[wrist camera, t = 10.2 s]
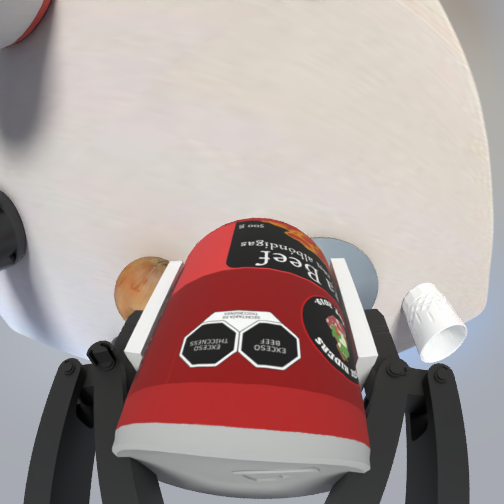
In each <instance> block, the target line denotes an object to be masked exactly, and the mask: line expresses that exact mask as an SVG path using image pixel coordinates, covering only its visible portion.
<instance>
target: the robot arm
mask: <svg viewBox="0 0 504 504" xmlns="http://www.w3.org/2000/svg"><path fill="white" fill-rule="evenodd" d="M25 248H26V240H25V233H24V229H23V225H22V222H21V219H20V217H19V215H18V212H17V210H16V209H15V207H14V205H13V203H12V202H11V201H10V199H9V198H8V197H7V196H6V195H5V194H4V193H3V192H2V191H0V271H1V270H3V269H6V268H8V267H11V266H13V265H15V264H16V263H17V262H18V261H19V260H20V259H21V258H22V257H23V255H24V253H25ZM183 266H184V264H183V261H170V262H169V264H168V266H167V268H166V269H165V271H164V273H163V275H162V277H161V279H160V280H159V282H158V284H157V286H156V288H155V290H154V292H153V294H152V296H151V297H150V299H149V301H148V303H147V305H146V307H145V309H144V311H143V310H135V311H134V312H133V313H132V314H131V315H130V316H129V317H128V319H127V320H126V322H125V326H123V328H122V330H121V332H120V334H119V336H118V338H117V339H116V341H115V343H114V345H112V344H111V343H110V342H108V341H99V342H96V343H94V344H93V345H92V346H91V347H90V348H89V349H88V351H87V354H86V355H87V356H88V358H89V359H90V361H91V362H92V364H86V365H82V364H81V363H80V362H79V361H78V360H77V359H75V358H69V359H67V360H65V361H63V362H62V363H61V365H60V366H59V368H58V371H57V373H56V376H55V379H54V381H53V384H52V387H51V390H50V393H49V395H48V398H47V401H46V405H45V408H44V411H43V414H42V417H41V421H40V425H39V428H38V432H37V435H36V439H35V443H34V447H33V452H32V456H31V461H30V466H29V471H28V477H27V482H26V489H25V496H24V504H89V499H90V489H91V478H92V470H93V464H94V456H95V450H96V461H97V470H98V478H99V485H100V492H101V498H102V503H103V504H164V502H163V498H162V495H161V491H160V487H159V483H158V479H157V475H156V474H155V473H154V472H152V471H151V470H150V469H149V468H147V467H146V466H145V465H143V464H142V463H140V462H138V461H137V460H135V459H133V458H131V457H117V456H116V455H115V454H114V453H113V452H112V447H113V444H114V441H115V431H116V428H117V425H118V422H119V419H120V416H121V413H122V411H123V408H124V404H125V400H126V398H127V395H128V392H129V390H130V387H131V385H132V382H133V380H134V377H135V375H136V372H137V370H138V367H139V365H140V362H141V360H142V357H143V355H144V353H145V350H146V348H147V346H148V343H149V341H150V338H151V336H152V334H153V331H154V329H155V327H156V325H157V322H158V320H159V318H160V316H161V313H162V311H163V309H164V307H165V304H166V302H167V300H168V298H169V296H170V294H171V291H172V289H173V287H174V285H175V283H176V281H177V279H178V276H179V274H180V272H181V270H182V268H183ZM330 272H331V275H332V278H333V282H334V285H335V289H336V292H337V296H338V299H339V303H340V306H341V310H342V314H343V317H344V321H345V325H346V329H347V333H348V337H349V341H350V345H351V349H352V353H353V357H354V362H355V366H356V370H357V375H358V379H359V384H360V389H361V392H362V390H363V388H365V393H366V396H365V398H364V400H363V404H364V409H365V414H366V423H367V430H368V436H369V443H370V458H369V460H370V470H368V471H367V472H365V473H359V472H351V471H349V472H347V473H346V474H345V475H343V476H342V477H341V478H340V479H339V480H338V481H337V482H336V483H335V484H334V485H333V486H332V488H331V491H330V493H329V495H328V497H327V499H326V501H325V504H379V503H380V500H381V498H382V495H383V492H384V489H385V487H386V483H387V480H388V477H389V474H390V471H391V467H392V464H393V460H394V457H395V453H396V448H397V445H398V441H399V436H400V432H401V427H402V422H403V417H404V413H405V416H406V435H407V482H406V500H405V501H406V502H405V504H469V465H468V453H467V444H466V436H465V428H464V421H463V415H462V410H461V404H460V399H459V394H458V390H457V385H456V381H455V377H454V374H453V371H452V370H451V369H450V368H449V367H448V366H446V365H444V364H440V363H438V364H434V365H432V366H431V367H430V368H429V370H420V369H414V368H410V367H409V366H408V365H407V363H406V362H404V361H403V360H401V359H400V358H399V356H398V353H397V350H396V347H395V345H394V342H393V339H392V337H391V334H390V333H389V329H388V326H387V324H386V321H385V318H384V316H383V315H382V314H381V313H380V312H379V311H378V310H377V309H368V310H363V307H362V304H361V302H360V299H359V296H358V293H357V291H356V288H355V285H354V282H353V280H352V277H351V274H350V272H349V269H348V267H347V264H346V262H345V259H344V258H331V259H330Z"/></svg>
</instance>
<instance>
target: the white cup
mask: <svg viewBox="0 0 504 504" xmlns="http://www.w3.org/2000/svg"><path fill="white" fill-rule="evenodd" d="M402 307H403V311H404V314H405V316H406V319H407V323H408V325H409V328H410V331H411V334H412V337H413V339H414V342H415V345H416V347H417V350H418V353H419V356H420V358H421V360H422V361H423V362H426V363H432V362H437V361H440V360H442V359H444V358H446V357H447V356H449V355H451V354H452V353H453V352H454V351H455V350H457V349H458V348H459V346H460V345H461V344H462V342H463V341H464V340H465V337H466V335H467V328H466V326H465V324H464V323H463V321H462V320H461V319H460V317H459V316H458V314H457V313H456V311H455V310H454V308H453V307H452V306H451V304H450V303H449V302H448V300H447V299H446V298H445V297H444V295H442V294H441V292H440V291H439V290H438V288H437V287H436V286H435V285H434V284H432V283H423V284H420V285H417V286H416V287H414V288H413V289H412V290H410V291H409V293H408V294H407V295H406V296H405V298H404V301H403V304H402Z"/></svg>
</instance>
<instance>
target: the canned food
mask: <svg viewBox="0 0 504 504" xmlns="http://www.w3.org/2000/svg"><path fill="white" fill-rule="evenodd" d="M112 452H113V453H114V454H115V455H116V456H117V457H131V458H133V459H135V460H137V461H138V462H140V463H142V464H143V465H145V466H146V467H147V468H149V469H150V470H151V471H152V472H154V473H155V474H156V475H157V479H158V481H161V482H163V483H166V484H170V485H173V486H176V487H180V488H183V489H187V490H192V491H196V492H201V493H206V494H212V495H219V496H226V497H236V498H253V499H272V498H290V497H300V496H307V495H314V494H318V493H323V492H328V491H331V488H332V486H333V485H334V484H335V483H336V482H337V481H338V480H339V479H340V478H341V477H342V476H343V475H345V474H346V473H347V472H349V471H351V472H359V473H365V472H367V471H368V470H370V460H369V458H370V443H369V436H368V430H367V423H366V414H365V409H364V404H363V399H362V394H361V389H360V384H359V379H358V375H357V370H356V366H355V362H354V357H353V353H352V349H351V345H350V341H349V337H348V333H347V329H346V325H345V321H344V317H343V314H342V310H341V306H340V303H339V299H338V296H337V292H336V289H335V285H334V282H333V278H332V275H331V272H330V268H329V265H328V262H327V260H326V258H325V256H324V254H323V252H322V250H321V249H320V248H319V247H318V246H317V245H316V244H315V242H314V241H313V240H312V239H311V238H309V237H308V236H307V235H306V234H304V233H303V232H301V231H300V230H299V229H297V228H296V227H293V226H291V225H289V224H287V223H284V222H281V221H277V220H273V219H267V218H249V219H242V220H237V221H234V222H231V223H228V224H225V225H223V226H221V227H220V228H218V229H216V230H214V231H213V232H211V233H209V234H208V235H207V236H205V237H204V238H203V239H202V240H201V241H200V242H199V243H197V244H196V246H195V247H194V248H193V250H192V251H191V253H190V254H189V256H188V258H187V260H186V262H185V264H184V266H183V268H182V270H181V272H180V274H179V276H178V279H177V281H176V283H175V285H174V287H173V289H172V291H171V294H170V296H169V298H168V300H167V302H166V304H165V307H164V309H163V311H162V313H161V316H160V318H159V320H158V322H157V325H156V327H155V329H154V331H153V334H152V336H151V338H150V341H149V343H148V346H147V348H146V350H145V353H144V355H143V357H142V360H141V362H140V365H139V367H138V370H137V372H136V375H135V377H134V380H133V382H132V385H131V387H130V390H129V392H128V395H127V398H126V400H125V404H124V408H123V411H122V413H121V416H120V419H119V422H118V425H117V428H116V431H115V441H114V444H113V447H112Z"/></svg>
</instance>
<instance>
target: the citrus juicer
mask: <svg viewBox="0 0 504 504" xmlns="http://www.w3.org/2000/svg"><path fill="white" fill-rule="evenodd" d="M50 1H51V0H0V49H2V48H4V47H8V46H10V45H13V44H15V43H17V42H19V41H21V40H22V39H24V38H25V37H26V36H27V35H29V34H30V33H31V32H32V30H33V29H34V28H35V27H36V26H37V24H38V23H39V22H40V20H41V19H42V17H43V16H44V14H45V12H46V10H47V8H48V6H49V4H50Z"/></svg>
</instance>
